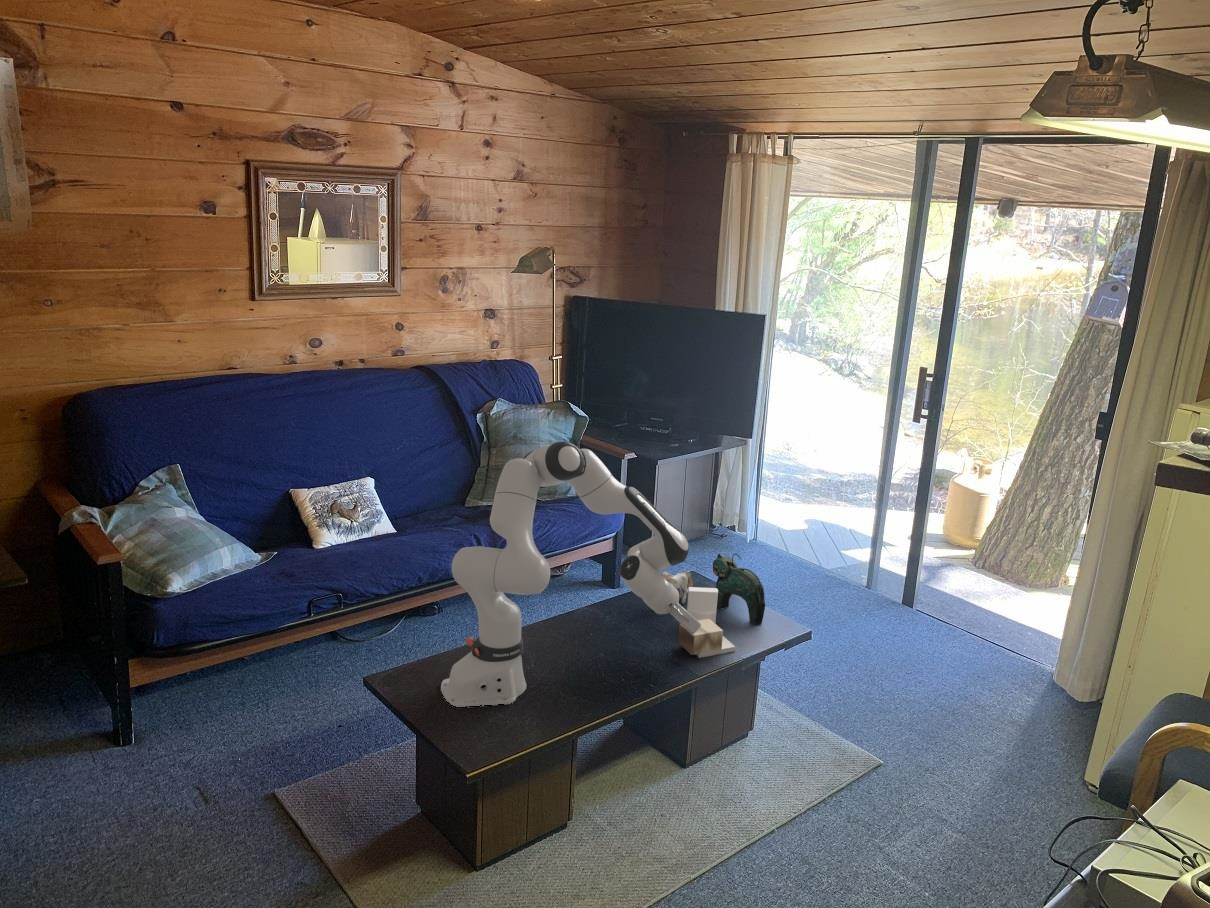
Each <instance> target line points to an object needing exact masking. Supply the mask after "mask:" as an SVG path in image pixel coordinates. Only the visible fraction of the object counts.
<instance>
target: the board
mask: <svg viewBox="0 0 1210 908" xmlns="http://www.w3.org/2000/svg"><path fill="white" fill-rule="evenodd" d="M732 652H734V653H735V652H736V646H735V645H734V644H733V643H732V642H731V641H729V640H728V639H727V638H726V637H725V636H724V635H723V638H722V649H720V650H715V651H710V652H704V653H699V654H694V655H695V656H696V655H697V656H698V657H697V656H696V657H697V658H699V659H701V657H702V658H706V657H713V656H716V655H717V656H718V655H722V654H728V653H732Z"/></svg>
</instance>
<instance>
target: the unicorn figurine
mask: <svg viewBox="0 0 1210 908" xmlns="http://www.w3.org/2000/svg"><path fill="white" fill-rule="evenodd" d="M660 575H661V577H662V578H664V579H666V580H667V581H668V582H669V583H670V584H672V585H673V586H674V587H675V588H676V589H677V590H678V589H679V599H680V598H681V597H682V598H681V604H682V603H685V604H686V601H687V600H686V599H687V595H688V590H689V587H693V586H694V584H693V580H692V579H693V578H692V574H691V572H689V571H685V572H683V573H681V572H680V573H679V572H678V573H676V574H675V575H674V576H673V575H671V573H669V572H667V571H664V570H663V572H662V573H661V574H660ZM683 590H684V592H683Z"/></svg>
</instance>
